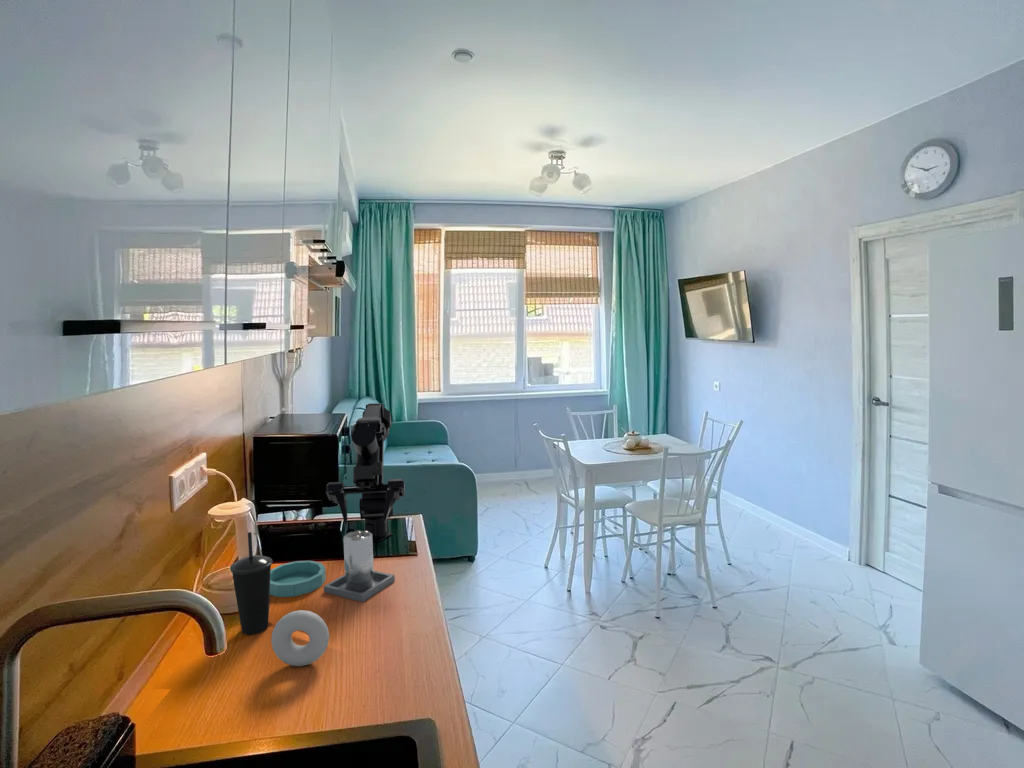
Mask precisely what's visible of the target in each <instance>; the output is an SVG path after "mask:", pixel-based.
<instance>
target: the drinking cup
mask: <svg viewBox="0 0 1024 768" xmlns="http://www.w3.org/2000/svg"><path fill="white" fill-rule="evenodd" d="M252 538H253V537H252V532H247V543H248V545H247V546H248V547H247V548H248V556H245V557H242V558H241V559H239V560H236V561H235V562H233V563H232V564H231V565H230V567H229V571H230V573H231V574H232V579H233V585H234V593H235V597H236V598H235V599H236V605H237V610H238V616H239V622H240V628H241V633H242V634H243V635H245V634H246V636H253V635H257V634H261V633H263V632H265V631H266V630H267V629H268V627H269V618H270V615H269V614H270V596H271V595H270V573H271V569H272V567H271V566H272V565H273V559H272V558H271V557H269V556H265V555H256V554H255V555H254V553H253V551H254V550H253V539H252Z"/></svg>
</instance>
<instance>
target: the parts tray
mask: <svg viewBox="0 0 1024 768" xmlns="http://www.w3.org/2000/svg"><path fill="white" fill-rule="evenodd" d="M395 580H396V577H395V574H391V573H387V572H382V571H378V570H374V586H373V587H371V588H370V589H368V590H367V591H365V592H360V593H358V592H354V591H350V590H346V584H345V573H344V574H343V575H341V576H339V577H337V578H335V579H334V580H331V581H330V582H329V583H327V584H325V585H324V586H323V593H325V594H329V595H332V596H333V595H334V596H336V597H337V596H338V597H339V598H340V597H341V598H345V599H347V600H348V599H349V600H353V601H357V602H361V603H365V601H367V600H368V599H370V598H371V597H372V596H375V595H376V594H377V593H379V592H381V591H382V590H383V589H385V588H386V587H388V586H389V585H391V584H392V583H394V582H395Z"/></svg>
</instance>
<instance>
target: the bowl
mask: <svg viewBox="0 0 1024 768" xmlns="http://www.w3.org/2000/svg"><path fill="white" fill-rule="evenodd" d="M326 574H327V573H326V567H325V566H324V564H323V563H322V562H318V561H314V560H296V561H290V562H287V563H283V564H280V565H278V566H276V567H274V568H271V573H270V596H272V597H276V598H288V597H289V598H291V597H298V596H300V595H305V594H309V593H311V592H313V591H315V590H317V589H319V588H320V587H322V586H323V585H324V583H325V581H326V579H327V575H326Z"/></svg>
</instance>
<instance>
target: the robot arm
mask: <svg viewBox="0 0 1024 768" xmlns="http://www.w3.org/2000/svg"><path fill="white" fill-rule="evenodd" d="M390 429H392V415H391V412H390V411H389V410H388V409H387V408H385V407H384V404H383V403H381V402H380V403H379V402H377V403H375V402H374V403H368V404H367V403H366V404H365V409H364V411H362V416H361V418H357V420H356V422H355V423H354V424H353V426H352V429H351V436H350V437H351V441H352V444H353V448H354V451H355V453H356V456H355V457H356V458H355V461H356V462H355V466H353V469H352V471H353V472H352V473H353V474H352V476H353V477H352V481H353V484H354V485H348V486H347V485H345V483H344V481H333V482H331V481H330V482H328V483H327V484H326V487H325V494H326V496H327V498H328V500H329V501H333V502H334V503H335V504H337V505H339V509H340V511H341V514H342V515H341V516H342V519H343V522H344V525H345V526H347V525H348V502H347V499H346V497H347V495H356V494H359V495H360V494H361V498H359V504H358V506H359V515H360V520H364V531H369V532H371V533H372V539H373V542H377V543H378V542H381V541H383V540H384V539H386V538H388V537H391V536H392V535H393V532H391V531H389V525H388V524H389V523H388V518H391V517H393V516H394V504H395V502H396V501H399V500H400V499H401V498H402V497H405V496H406V486H405V480H404V479H403V478H389V479H388V480H387V483H386V484H384V454H385V453H384V451H385V450H384V446H385V441H386V440H387V438H388V437H389V436H390Z"/></svg>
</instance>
